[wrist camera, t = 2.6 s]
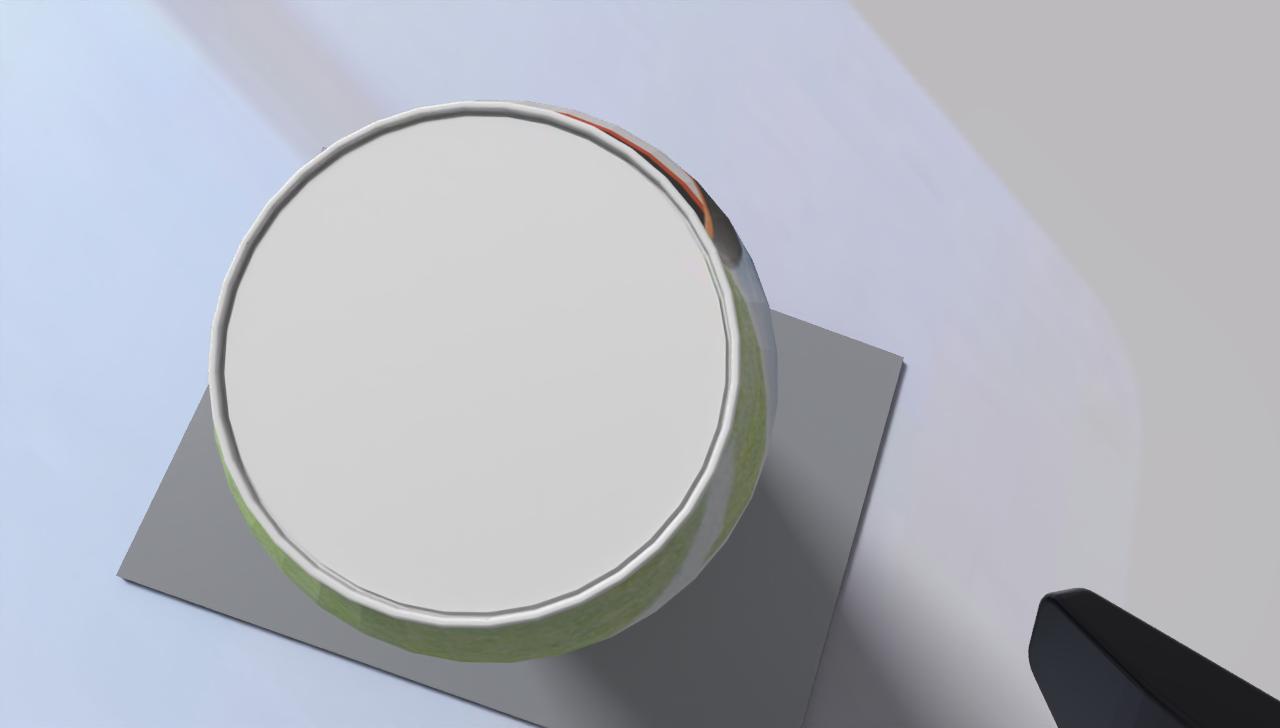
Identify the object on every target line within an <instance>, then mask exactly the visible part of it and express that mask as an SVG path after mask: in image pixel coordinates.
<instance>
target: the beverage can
mask: <svg viewBox="0 0 1280 728" xmlns="http://www.w3.org/2000/svg"><path fill="white" fill-rule="evenodd" d="M208 379H209V388H210V398H211V407H212V417H213V425H214V435H215V441H216V444H217V448H218V451H219V454H220V458H221V461H222V465H223V468H224V472H225V475H226V478H227V482H228V485H229V488H230V490H231V492H232V494H233V496H234V498H235V500H236V502H237V504H238V506H239V508H240V510H241V512H242V514H243V516H244V518H245V520H246V522H247V524H248V526H249V528H250V530H251V532H252V533H253V534H254V536H255V537H256V538H257V540H258V541H259V542H260V544H261V545H262V546H263V548H264V549H265V550H266V552H267V553H268V554H269V556H270V557H271V558H272V560H273V561H274V562H275V564H276V565H277V566H278V568H279V569H280V570H281V572H282V573H284V574H285V575H286V576H287V577H288V578H289V579H290V580H291V581H292V582H293V583H295V584H296V585H297V586H298V587H299V588H300V589H301V590H302V591H303V592H304V593H305V594H307V595H308V596H309V597H310V598H311V599H312V600H313V601H314V602H315V603H316V604H317V605H319V606H320V607H321V608H323V609H324V610H326V611H328V612H329V613H331V614H332V615H334V616H336V617H337V618H339V619H340V620H342V621H344V622H345V623H347V624H348V625H350V626H352V627H353V628H355V629H356V630H358V631H360V632H361V633H363V634H365V635H368V636H371V637H373V638H376V639H378V640H381V641H383V642H386V643H388V644H391V645H393V646H396V647H398V648H401V649H403V650H406V651H408V652H412V653H417V654H422V655H427V656H432V657H437V658H442V659H447V660H452V661H457V662H487V663H515V662H521V661H527V660H533V659H539V658H545V657H551V656H557V655H563V654H566V653H568V652H571V651H574V650H577V649H580V648H583V647H585V646H588V645H591V644H594V643H597V642H599V641H602V640H605V639H608V638H611V637H613V636H614V635H616V634H618V633H620V632H621V631H623V630H625V629H627V628H628V627H630V626H632V625H634V624H635V623H637V622H639V621H641V620H642V619H644V618H646V617H648V616H649V615H651V614H653V613H655V612H656V611H657V610H658V609H660V608H661V607H662V606H663V605H664V604H666V603H667V602H668V601H669V600H670V599H672V598H673V597H674V596H675V595H676V594H678V593H679V592H680V591H681V590H682V589H684V588H685V587H686V586H687V585H688V584H690V583H691V582H692V581H693V580H694V579H695V578H696V577H697V576H698V575H699V573H700V572H701V571H702V570H703V569H704V568H705V566H706V565H707V564H708V563H709V562H710V560H711V559H712V558H713V557H714V556H715V554H716V553H717V552H718V551H719V550H720V549H721V547H722V546H723V545H724V544H725V543H726V541H727V540H728V538H729V536H730V535H731V533H732V531H733V530H734V528H735V526H736V524H737V523H738V521H739V519H740V517H741V516H742V514H743V512H744V511H745V509H746V507H747V505H748V504H749V502H750V500H751V499H752V496H753V494H754V491H755V488H756V485H757V483H758V480H759V477H760V474H761V472H762V469H763V466H764V463H765V461H766V458H767V455H768V453H769V449H770V443H771V437H772V432H773V426H774V420H775V415H776V409H777V403H778V353H777V347H776V342H775V336H774V330H773V325H772V319H771V313H770V308H769V304H768V301H767V299H766V296H765V293H764V290H763V288H762V285H761V282H760V279H759V277H758V274H757V271H756V269H755V266H754V263H753V260H752V258H751V257H750V255H749V253H748V251H747V250H746V248H745V246H744V245H743V243H742V241H741V239H740V238H739V236H738V234H737V232H736V231H735V229H734V227H733V226H732V224H731V222H730V220H729V219H728V217H727V216H726V215H725V214H724V213H723V211H722V210H721V209H720V208H719V207H718V205H717V204H716V203H715V202H714V201H713V200H712V198H711V197H710V196H709V195H708V194H707V192H706V191H705V190H704V189H703V188H702V186H701V185H700V184H699V183H698V182H697V181H696V180H695V179H694V178H692V177H691V176H690V175H689V174H688V173H687V172H685V171H684V170H683V169H682V168H681V167H679V166H678V165H677V164H676V163H675V162H673V161H672V160H671V159H670V158H669V157H667V156H666V155H665V154H664V153H663V152H662V151H660V150H658V149H657V148H655V147H653V146H652V145H650V144H648V143H646V142H645V141H643V140H641V139H640V138H638V137H636V136H634V135H633V134H631V133H629V132H628V131H626V130H624V129H622V128H621V127H619V126H616V125H614V124H611V123H608V122H605V121H603V120H600V119H597V118H595V117H592V116H589V115H587V114H584V113H581V112H579V111H576V110H572V109H567V108H561V107H556V106H551V105H546V104H541V103H535V102H530V101H498V100H477V101H461V102H454V103H447V104H441V105H434V106H427V107H420V108H416V109H413V110H410V111H407V112H404V113H401V114H397V115H394V116H391V117H388V118H385V119H382V120H379V121H376V122H374V123H372V124H370V125H368V126H366V127H364V128H362V129H360V130H358V131H356V132H354V133H352V134H350V135H348V136H347V137H345V138H343V139H341V140H339V141H337V142H335V143H334V144H332V145H331V146H330V147H328V148H327V149H326V150H324V151H323V152H322V153H320V154H319V155H318V156H316V157H315V158H314V159H312V160H311V161H310V162H308V163H307V164H306V165H304V166H303V167H302V168H300V169H299V170H298V171H297V172H296V173H295V174H294V175H293V176H292V177H291V178H290V179H289V180H288V181H287V182H286V184H285V185H284V186H283V187H282V188H281V189H280V190H279V191H278V192H277V193H276V194H275V195H274V196H273V197H272V198H271V199H270V200H269V201H268V203H267V204H266V205H265V207H264V208H263V210H262V211H261V213H260V214H259V216H258V217H257V219H256V220H255V222H254V223H253V225H252V226H251V228H250V229H249V231H248V232H247V234H246V235H245V237H244V238H243V240H242V241H241V243H240V245H239V248H238V250H237V252H236V254H235V257H234V259H233V261H232V263H231V266H230V268H229V270H228V272H227V275H226V277H225V279H224V281H223V284H222V288H221V292H220V296H219V300H218V303H217V307H216V311H215V315H214V319H213V323H212V327H211V339H210V353H209V367H208Z"/></svg>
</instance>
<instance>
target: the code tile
mask: <svg viewBox="0 0 1280 728" xmlns="http://www.w3.org/2000/svg"><path fill="white" fill-rule="evenodd" d="M326 149H327V148H325V147H323V149H322V151H321V153H322V152H323V151H324V150H326ZM770 313H771V319H772V325H773V330H774V336H775V342H776V347H777V353H778V403H777V409H776V415H775V420H774V426H773V432H772V437H771V443H770V449H769V453H768V455H767V458H766V461H765V463H764V466H763V469H762V472H761V474H760V477H759V480H758V483H757V485H756V488H755V491H754V494H753V496H752V499H751V500H750V502H749V504H748V505H747V507H746V509H745V511H744V512H743V514H742V516H741V517H740V519H739V521H738V523H737V524H736V526H735V528H734V530H733V531H732V533H731V535H730V536H729V538H728V540H727V541H726V543H725V544H724V545H723V546H722V547H721V549H720V550H719V551H718V552H717V553H716V554H715V556H714V557H713V558H712V559H711V560H710V562H709V563H708V564H707V565H706V566H705V568H704V569H703V570H702V571H701V572H700V573H699V575H698V576H697V577H696V578H695V579H694V580H693V581H692V582H691V583H690V584H688V585H687V586H686V587H685V588H684V589H682V590H681V591H680V592H679V593H678V594H676V595H675V596H674V597H673V598H672V599H670V600H669V601H668V602H667V603H666V604H664V605H663V606H662V607H661V608H660V609H658V610H657V611H656V612H655V613H653V614H651V615H649V616H648V617H646V618H644V619H642V620H641V621H639V622H637V623H635V624H634V625H632V626H630V627H628V628H627V629H625V630H623V631H621V632H620V633H618V634H616V635H614V636H613V637H611V638H608V639H605V640H602V641H599V642H597V643H594V644H591V645H588V646H585V647H583V648H580V649H577V650H574V651H571V652H568V653H566V654H563V655H557V656H551V657H545V658H539V659H533V660H527V661H521V662H515V663H487V662H457V661H452V660H447V659H442V658H437V657H432V656H427V655H422V654H417V653H412V652H408V651H406V650H403V649H401V648H398V647H396V646H393V645H391V644H388V643H386V642H383V641H381V640H378V639H376V638H373V637H371V636H368V635H365V634H363V633H361V632H360V631H358V630H356V629H355V628H353V627H352V626H350V625H348V624H347V623H345V622H344V621H342V620H340V619H339V618H337V617H336V616H334V615H332V614H331V613H329V612H328V611H326V610H324V609H323V608H321V607H320V606H319V605H317V604H316V603H315V602H314V601H313V600H312V599H311V598H310V597H309V596H308V595H307V594H305V593H304V592H303V591H302V590H301V589H300V588H299V587H298V586H297V585H296V584H295V583H293V582H292V581H291V580H290V579H289V578H288V577H287V576H286V575H285V574H284V573H282V572H281V570H280V569H279V568H278V566H277V565H276V564H275V562H274V561H273V560H272V558H271V557H270V556H269V554H268V553H267V552H266V550H265V549H264V548H263V546H262V545H261V544H260V542H259V541H258V540H257V538H256V537H255V536H254V534H253V533H252V532H251V530H250V528H249V526H248V524H247V522H246V520H245V518H244V516H243V514H242V512H241V510H240V508H239V506H238V504H237V502H236V500H235V498H234V496H233V494H232V492H231V490H230V488H229V485H228V482H227V478H226V475H225V472H224V468H223V465H222V461H221V458H220V454H219V451H218V448H217V444H216V441H215V435H214V425H213V417H212V407H211V398H210V388H209V385H208V387H207V389H206V391H205V393H204V395H203V397H202V399H201V401H200V403H199V405H198V407H197V409H196V412H195V414H194V416H193V418H192V420H191V422H190V424H189V426H188V428H187V430H186V432H185V434H184V436H183V438H182V440H181V443H180V445H179V447H178V449H177V451H176V453H175V455H174V457H173V459H172V461H171V463H170V465H169V467H168V469H167V471H166V474H165V476H164V478H163V480H162V482H161V484H160V486H159V488H158V490H157V492H156V494H155V496H154V498H153V500H152V502H151V505H150V507H149V509H148V511H147V513H146V515H145V517H144V519H143V521H142V523H141V525H140V527H139V529H138V531H137V533H136V536H135V538H134V540H133V542H132V544H131V546H130V548H129V550H128V552H127V554H126V556H125V558H124V560H123V562H122V564H121V567H120V569H119V571H118V573H117V575H116V576H119V577H122V578H124V579H127V580H130V581H133V582H136V583H139V584H141V585H144V586H147V587H150V588H153V589H156V590H158V591H161V592H164V593H167V594H170V595H173V596H175V597H178V598H181V599H184V600H187V601H190V602H192V603H195V604H198V605H201V606H204V607H207V608H209V609H212V610H215V611H218V612H221V613H224V614H226V615H229V616H232V617H235V618H238V619H241V620H243V621H246V622H249V623H252V624H255V625H258V626H260V627H263V628H266V629H269V630H272V631H275V632H277V633H280V634H283V635H286V636H289V637H292V638H294V639H297V640H300V641H303V642H306V643H309V644H311V645H314V646H317V647H320V648H323V649H325V650H328V651H331V652H334V653H337V654H340V655H342V656H345V657H348V658H351V659H354V660H357V661H359V662H362V663H365V664H368V665H371V666H374V667H376V668H379V669H382V670H385V671H388V672H391V673H393V674H396V675H399V676H402V677H405V678H408V679H410V680H413V681H416V682H419V683H422V684H425V685H427V686H430V687H433V688H436V689H439V690H442V691H444V692H447V693H450V694H453V695H456V696H459V697H461V698H464V699H467V700H470V701H473V702H476V703H478V704H481V705H484V706H487V707H490V708H493V709H495V710H498V711H501V712H504V713H507V714H510V715H512V716H515V717H518V718H521V719H524V720H527V721H529V722H532V723H535V724H538V725H541V726H543V727H546V728H802V724H803V721H804V717H805V713H806V710H807V706H808V703H809V699H810V695H811V692H812V688H813V684H814V681H815V677H816V674H817V670H818V666H819V663H820V659H821V655H822V652H823V648H824V645H825V641H826V637H827V634H828V630H829V626H830V623H831V619H832V616H833V612H834V608H835V605H836V601H837V597H838V594H839V590H840V587H841V583H842V579H843V576H844V572H845V568H846V565H847V561H848V558H849V554H850V550H851V547H852V543H853V539H854V536H855V532H856V529H857V525H858V521H859V518H860V514H861V510H862V507H863V503H864V500H865V496H866V492H867V489H868V485H869V482H870V478H871V474H872V471H873V467H874V463H875V460H876V456H877V453H878V449H879V445H880V442H881V438H882V434H883V431H884V427H885V424H886V420H887V416H888V413H889V409H890V405H891V402H892V398H893V395H894V391H895V387H896V384H897V380H898V376H899V373H900V369H901V366H902V362H903V358H904V357H901V356H898V355H896V354H893V353H890V352H887V351H885V350H882V349H879V348H876V347H874V346H871V345H868V344H865V343H862V342H860V341H857V340H854V339H851V338H849V337H846V336H843V335H840V334H838V333H835V332H832V331H829V330H827V329H824V328H821V327H818V326H816V325H813V324H810V323H807V322H805V321H802V320H799V319H796V318H794V317H791V316H788V315H785V314H783V313H780V312H777V311H774V310H772V309H770Z"/></svg>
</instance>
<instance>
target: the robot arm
mask: <svg viewBox="0 0 1280 728" xmlns="http://www.w3.org/2000/svg"><path fill="white" fill-rule="evenodd" d="M1028 652H1029V662H1030V666H1031V670H1032V672H1033V675H1034V677H1035V679H1036V681H1037V684H1038V686H1039V688H1040V690H1041V692H1042V694H1043V696H1044V699H1045V701H1046V703H1047V705H1048V707H1049V709H1050V711H1051V714H1052V716H1053V718H1054V720H1055V722H1056V724H1057V726H1058V728H1280V701H1279V700H1277V699H1275V698H1274V697H1272V696H1270V695H1269V694H1267V693H1265V692H1263V691H1262V690H1260V689H1258V688H1257V687H1255V686H1253V685H1252V684H1250V683H1248V682H1247V681H1245V680H1243V679H1241V678H1240V677H1238V676H1236V675H1234V674H1233V673H1231V672H1229V671H1228V670H1226V669H1224V668H1222V667H1221V666H1219V665H1217V664H1216V663H1214V662H1212V661H1211V660H1209V659H1207V658H1205V657H1204V656H1202V655H1200V654H1199V653H1197V652H1195V651H1193V650H1191V649H1190V648H1188V647H1187V646H1185V645H1183V644H1181V643H1179V642H1178V641H1176V640H1175V639H1173V638H1171V637H1170V636H1168V635H1166V634H1164V633H1163V632H1161V631H1159V630H1158V629H1156V628H1154V627H1152V626H1151V625H1149V624H1147V623H1146V622H1144V621H1142V620H1141V619H1139V618H1137V617H1135V616H1134V615H1132V614H1130V613H1129V612H1127V611H1125V610H1123V609H1122V608H1120V607H1118V606H1117V605H1115V604H1113V603H1111V602H1110V601H1108V600H1106V599H1105V598H1103V597H1101V596H1099V595H1098V594H1096V593H1094V592H1092V591H1090V590H1087V589H1085V588H1073V589H1068V590H1062V591H1057V592H1052V593H1049V594H1046V595H1045V596H1044V597H1043V598H1042V599H1041V601H1040V604H1039V608H1038V612H1037V616H1036V620H1035V624H1034V628H1033V632H1032V636H1031V640H1030V644H1029V651H1028Z"/></svg>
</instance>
